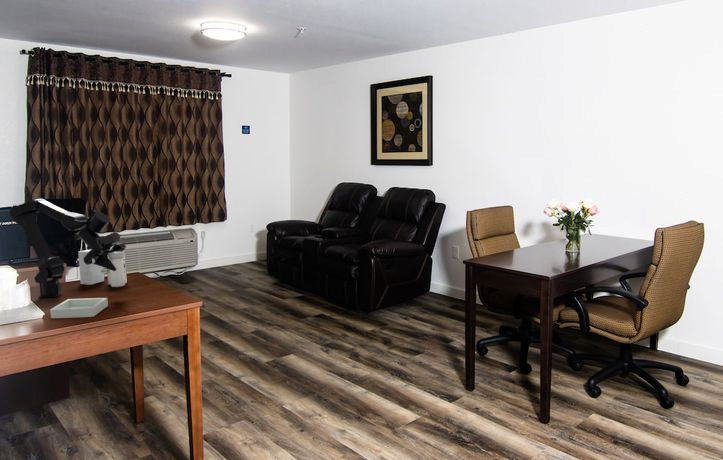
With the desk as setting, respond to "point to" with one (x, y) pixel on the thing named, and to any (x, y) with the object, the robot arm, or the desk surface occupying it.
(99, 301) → the tray
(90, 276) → the skincare box
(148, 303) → the desk surface
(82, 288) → the desk surface
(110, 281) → the syrup box
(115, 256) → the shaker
